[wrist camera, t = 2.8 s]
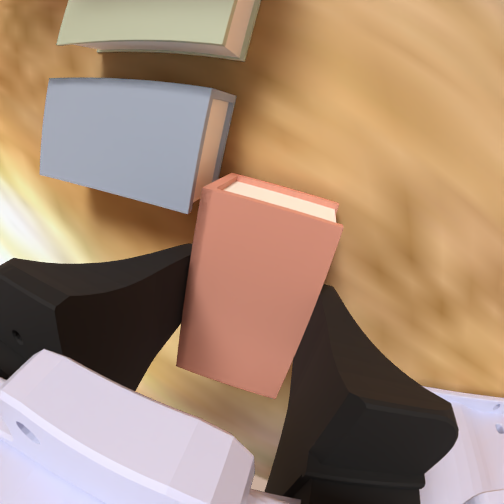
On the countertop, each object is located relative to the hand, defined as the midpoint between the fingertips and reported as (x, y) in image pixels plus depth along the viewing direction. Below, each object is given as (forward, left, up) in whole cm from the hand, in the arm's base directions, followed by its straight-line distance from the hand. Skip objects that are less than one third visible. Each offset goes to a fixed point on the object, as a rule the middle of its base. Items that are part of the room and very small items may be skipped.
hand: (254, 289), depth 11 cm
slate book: (+6, -4, -2) cm, 8 cm away
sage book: (+6, -10, -2) cm, 12 cm away
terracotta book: (0, 0, -2) cm, 2 cm away
